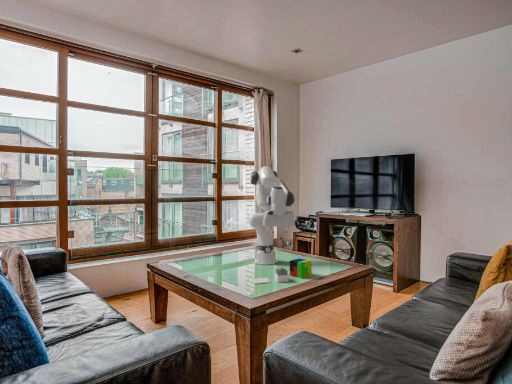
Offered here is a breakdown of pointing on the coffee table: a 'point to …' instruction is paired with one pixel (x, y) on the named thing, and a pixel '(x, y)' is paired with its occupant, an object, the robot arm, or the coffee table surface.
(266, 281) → the coaster
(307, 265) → the puzzle toy
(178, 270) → the coffee table surface
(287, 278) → the peg stand
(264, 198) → the robot arm
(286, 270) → the ring
